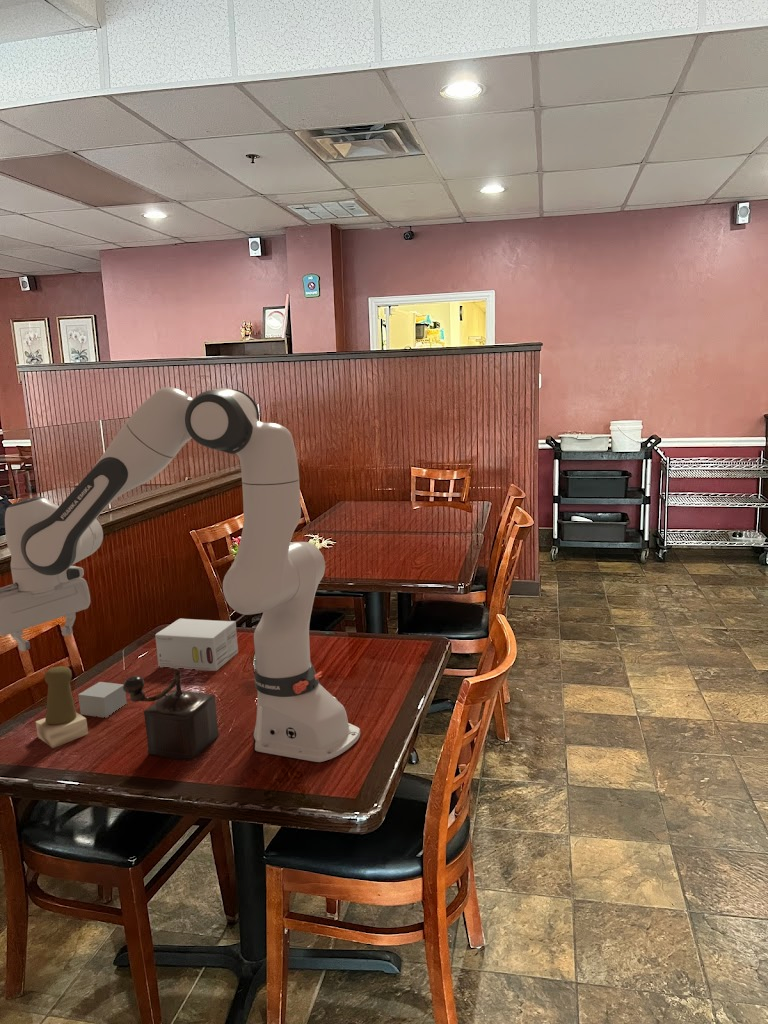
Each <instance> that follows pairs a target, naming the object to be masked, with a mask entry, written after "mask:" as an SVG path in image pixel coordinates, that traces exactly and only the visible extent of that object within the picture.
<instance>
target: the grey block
mask: <svg viewBox="0 0 768 1024" xmlns="http://www.w3.org/2000/svg"><path fill="white" fill-rule="evenodd" d="M123 686H124V683H123V684H121V683H115V682H114V683H113V682H105V681H98V682H96V683H95V684H93V685H92V686H90V687H88V688H87V689H85V690H83V691H82V692H80V693H78V695H77V696H78V697H77V698H78V702H79V703H78V705H79V709H80V715H82V716H83V715H84V716H91V717H96V716H97V718H104V717H105V718H106V719H107V718H108V717H110V716H112V715H113V714H114V713H116V712H117V711H119V710H120V709H121V707H122V706H123V707H125V706H126V705H128V704H127V703H128V701H127V695H126V693H127V692H125V691H124V689H123ZM125 704H126V705H125ZM124 705H125V706H124ZM123 707H122V708H123ZM119 708H120V709H119ZM118 709H119V710H118ZM116 710H117V711H116ZM115 711H116V712H115ZM113 712H114V713H113ZM112 713H113V714H112ZM109 715H110V716H109ZM105 718H104V719H105Z"/></svg>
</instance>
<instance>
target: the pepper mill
mask: <svg viewBox="0 0 768 1024" xmlns="http://www.w3.org/2000/svg"><path fill="white" fill-rule="evenodd" d="M173 673H174V676H173V680H172V682H170V684H169V685H168V687H166V688H165V689H164V690H163V691H161V692H160V693H158V694H156V695H154V696H146V693H145V692H144V691H143V688H144V686H145V680H144V678H143V677H142V676H138V675H133V676H130V677H128V678H126V679H125V680H124V682H123V684H124V686H123V689H124V691H125V693H128V694H129V695H130V698H129V701H131V702H132V703H135V702H137V703H138V702H149V703H150V702H154V703H153V704H151V705H150V706H148V708H146V709H144V710H143V714H144V715H143V716H144V722H145V733H146V734H145V735H146V741H147V754H150V755H153V756H156V757H158V758H159V757H161V758H165V759H174V760H179V761H180V760H181V761H192V760H194V759H195V758H197V757H198V756H199V755H200V754H201V753H203V752H204V751H205V750H206V749H207V748H208V747H209V746H210V745H211V744H212V743H213V742H215V740H216V739H217V738H218V737H219V733H220V732H219V728H218V727H219V726H218V717H217V704H216V696H215V694H213V693H212V694H210V693H204V692H203V693H202V692H194V691H187V690H182V687H181V685H182V684H181V680H182V674H181V673H182V672H181V669H178V668H174V670H173ZM175 687H176V688H175ZM174 688H175V689H174ZM171 690H172V691H171Z"/></svg>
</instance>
